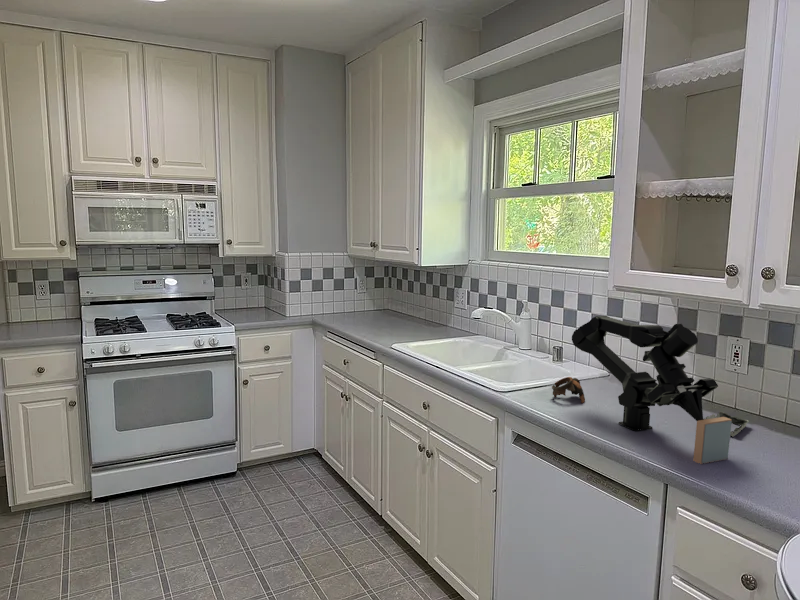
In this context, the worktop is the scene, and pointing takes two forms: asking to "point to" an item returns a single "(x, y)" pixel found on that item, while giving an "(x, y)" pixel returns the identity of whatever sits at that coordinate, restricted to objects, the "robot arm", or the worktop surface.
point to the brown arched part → (568, 387)
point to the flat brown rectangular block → (712, 440)
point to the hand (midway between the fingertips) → (700, 421)
